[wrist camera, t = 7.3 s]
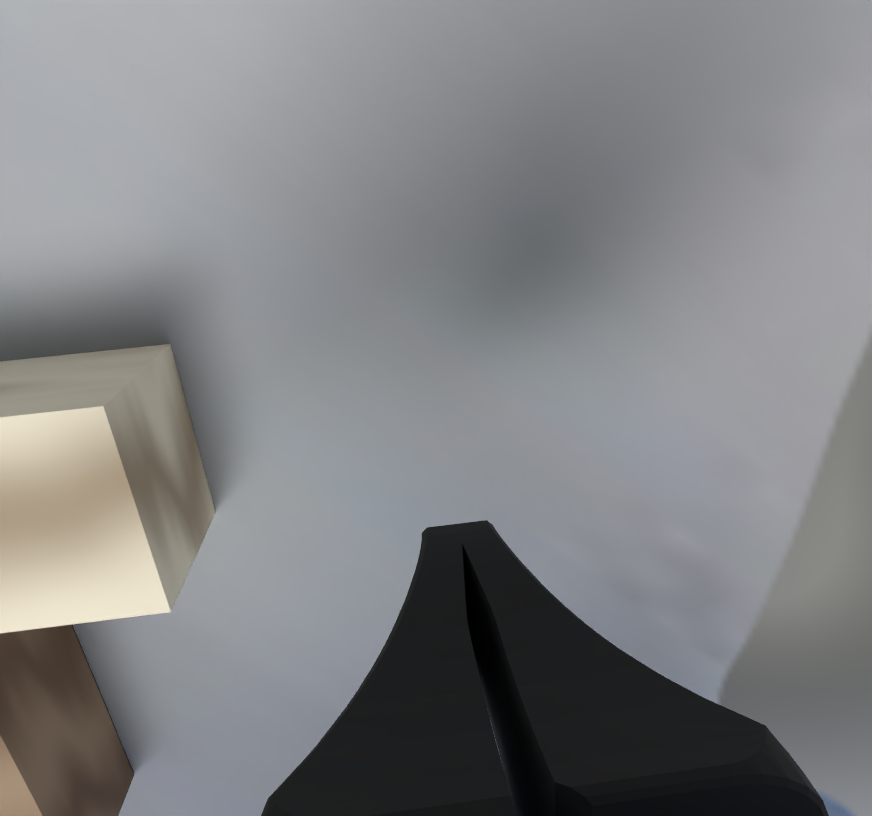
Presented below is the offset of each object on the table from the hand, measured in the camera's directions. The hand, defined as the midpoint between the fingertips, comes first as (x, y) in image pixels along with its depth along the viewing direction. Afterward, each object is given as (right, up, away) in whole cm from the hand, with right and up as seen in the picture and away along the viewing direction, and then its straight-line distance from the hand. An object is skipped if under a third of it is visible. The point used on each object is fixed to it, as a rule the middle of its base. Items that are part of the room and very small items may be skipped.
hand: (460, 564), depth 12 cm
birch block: (-11, +2, +7) cm, 13 cm away
